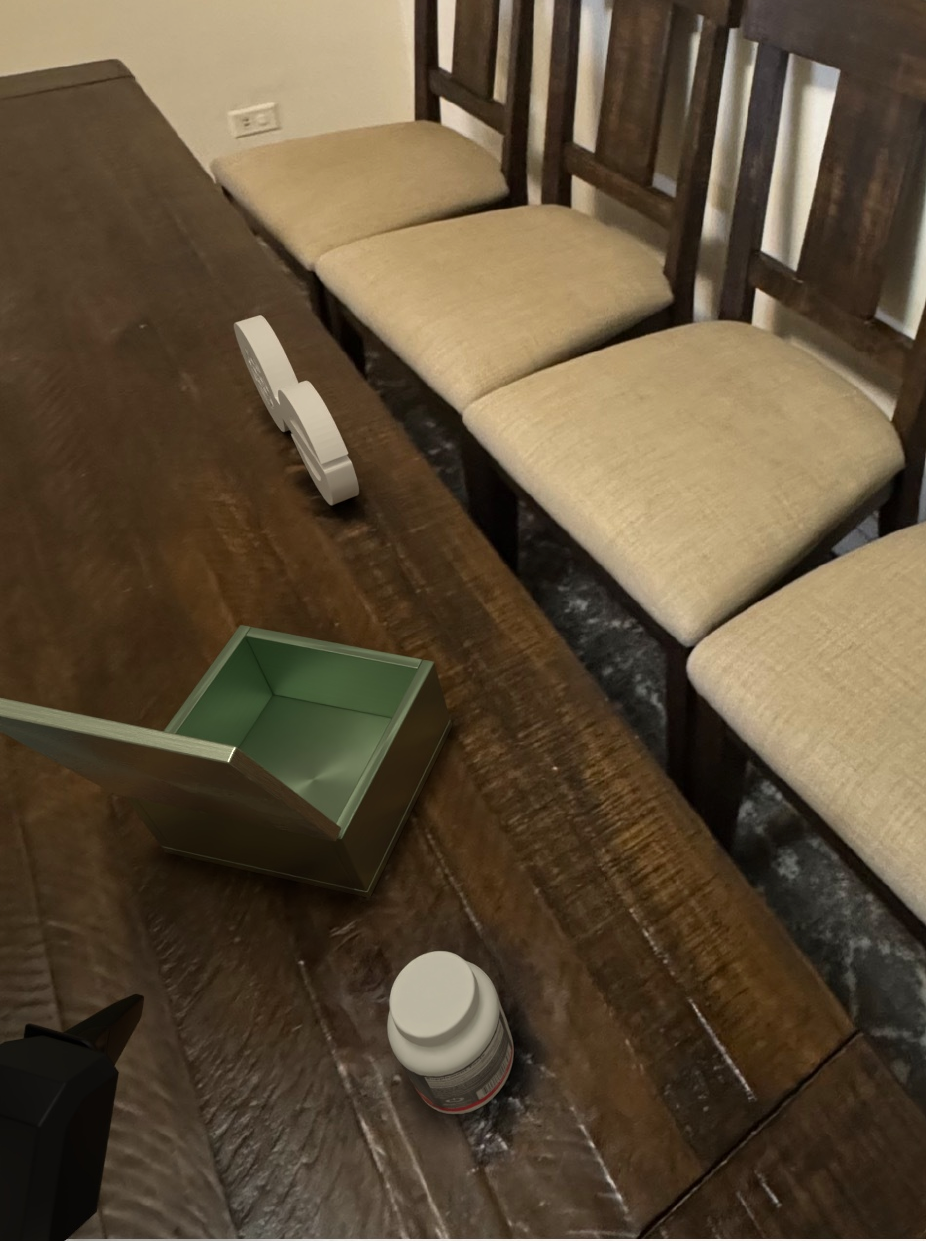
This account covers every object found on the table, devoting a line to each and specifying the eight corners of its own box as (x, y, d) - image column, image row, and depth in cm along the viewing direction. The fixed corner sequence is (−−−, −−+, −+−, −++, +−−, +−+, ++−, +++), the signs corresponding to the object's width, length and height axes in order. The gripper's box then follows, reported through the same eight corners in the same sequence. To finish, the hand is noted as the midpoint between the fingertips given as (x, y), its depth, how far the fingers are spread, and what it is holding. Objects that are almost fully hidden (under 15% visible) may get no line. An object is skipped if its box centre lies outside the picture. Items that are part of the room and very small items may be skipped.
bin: (272, 690, 71) (240, 624, 66) (452, 725, 69) (434, 661, 64) (165, 852, 62) (119, 791, 57) (370, 898, 60) (341, 839, 55)
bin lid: (-37, 689, 46) (-48, 705, 45) (236, 745, 44) (228, 763, 44) (119, 780, 57) (112, 793, 57) (342, 827, 55) (336, 842, 55)
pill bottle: (403, 1035, 55) (363, 962, 48) (499, 992, 57) (473, 917, 50) (426, 1136, 52) (387, 1074, 45) (527, 1088, 53) (504, 1021, 47)
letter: (257, 394, 95) (223, 302, 88) (280, 386, 96) (248, 295, 89) (343, 528, 83) (311, 434, 76) (368, 517, 84) (340, 424, 77)
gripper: (-83, 1046, 27) (269, 846, 42) (-636, 886, 29) (-112, 753, 45) (-143, 1447, 27) (228, 1102, 42) (-684, 1254, 29) (-148, 995, 45)
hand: (45, 979), depth 44 cm, fingers open, 9 cm apart
